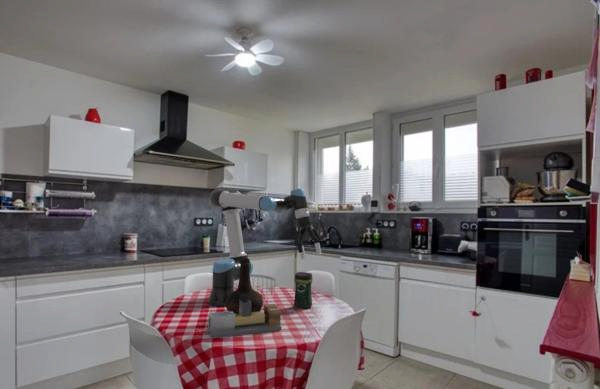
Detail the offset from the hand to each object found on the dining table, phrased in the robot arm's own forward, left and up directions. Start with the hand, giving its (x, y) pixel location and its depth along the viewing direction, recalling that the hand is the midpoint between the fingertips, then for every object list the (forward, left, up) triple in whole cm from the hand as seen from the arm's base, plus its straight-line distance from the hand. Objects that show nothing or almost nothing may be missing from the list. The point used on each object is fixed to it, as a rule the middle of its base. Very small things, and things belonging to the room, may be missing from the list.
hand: (311, 256), depth 178 cm
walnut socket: (+15, -26, -27) cm, 40 cm away
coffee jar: (-9, 0, -29) cm, 30 cm away
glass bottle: (-3, -34, -29) cm, 45 cm away
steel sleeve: (+15, -48, -27) cm, 57 cm away
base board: (+15, -38, -28) cm, 50 cm away
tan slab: (+15, -40, -26) cm, 50 cm away
